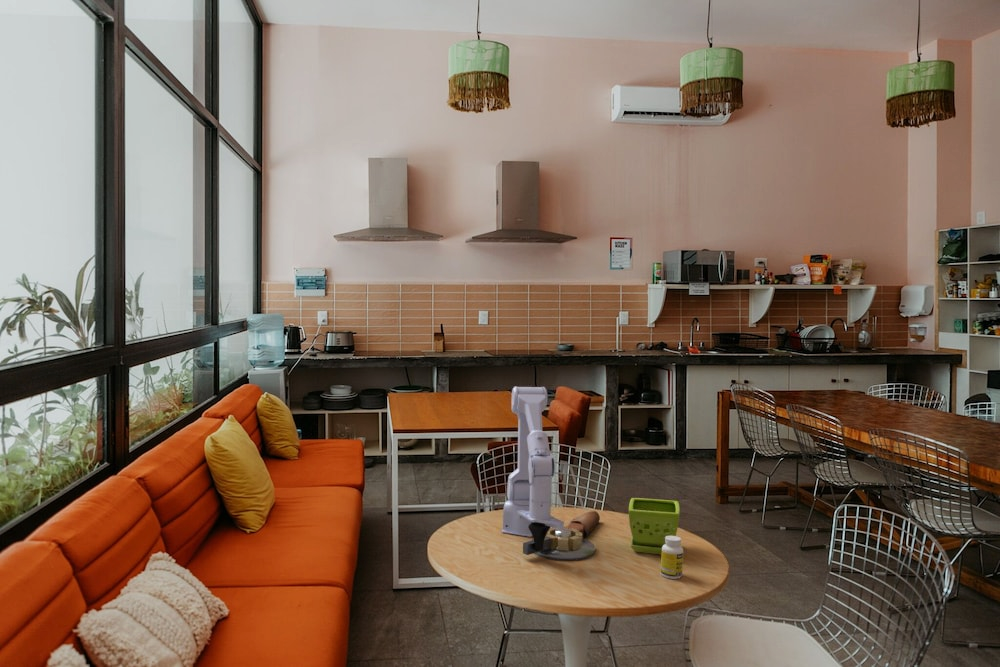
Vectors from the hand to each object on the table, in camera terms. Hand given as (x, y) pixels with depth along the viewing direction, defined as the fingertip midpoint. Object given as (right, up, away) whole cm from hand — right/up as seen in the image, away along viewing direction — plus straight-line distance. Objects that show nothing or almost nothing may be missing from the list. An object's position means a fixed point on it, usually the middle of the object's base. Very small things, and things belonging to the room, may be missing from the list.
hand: (538, 550), depth 195 cm
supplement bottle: (+34, -4, -9) cm, 35 cm away
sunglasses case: (+14, -2, +27) cm, 31 cm away
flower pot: (+33, -3, +11) cm, 35 cm away
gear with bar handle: (+4, -1, +6) cm, 7 cm away
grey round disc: (+7, -2, +9) cm, 11 cm away
